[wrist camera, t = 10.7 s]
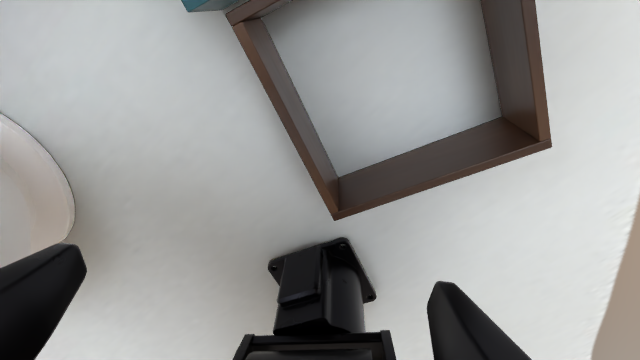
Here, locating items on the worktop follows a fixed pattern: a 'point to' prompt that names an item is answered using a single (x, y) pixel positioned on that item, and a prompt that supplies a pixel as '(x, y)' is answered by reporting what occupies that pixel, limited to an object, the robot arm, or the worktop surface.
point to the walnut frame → (430, 160)
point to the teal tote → (206, 5)
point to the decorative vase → (30, 196)
